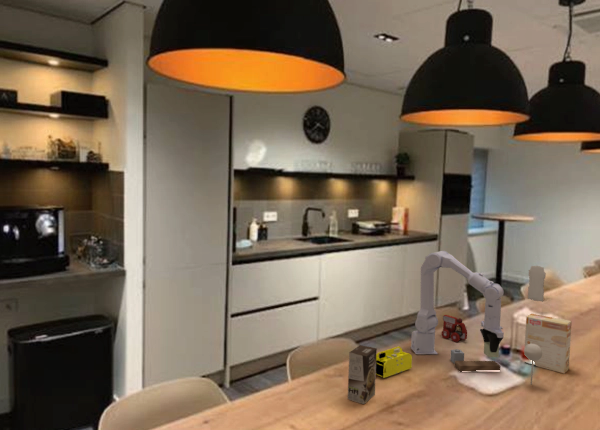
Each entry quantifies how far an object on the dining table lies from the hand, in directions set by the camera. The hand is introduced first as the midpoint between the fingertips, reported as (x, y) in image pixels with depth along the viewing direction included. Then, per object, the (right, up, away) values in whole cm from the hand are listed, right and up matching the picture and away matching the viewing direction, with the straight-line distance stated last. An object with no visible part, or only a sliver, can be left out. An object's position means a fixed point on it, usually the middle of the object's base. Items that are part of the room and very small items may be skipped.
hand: (490, 349), depth 178 cm
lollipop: (+10, -9, -12) cm, 18 cm away
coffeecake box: (+25, -8, +5) cm, 27 cm away
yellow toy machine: (-39, -8, -4) cm, 40 cm away
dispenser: (+77, -2, +115) cm, 139 cm away
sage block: (0, -2, 0) cm, 2 cm away
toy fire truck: (-2, -6, +36) cm, 36 cm away
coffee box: (-54, -9, -25) cm, 60 cm away
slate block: (-11, -7, +7) cm, 15 cm away
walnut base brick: (-5, -8, 0) cm, 9 cm away
